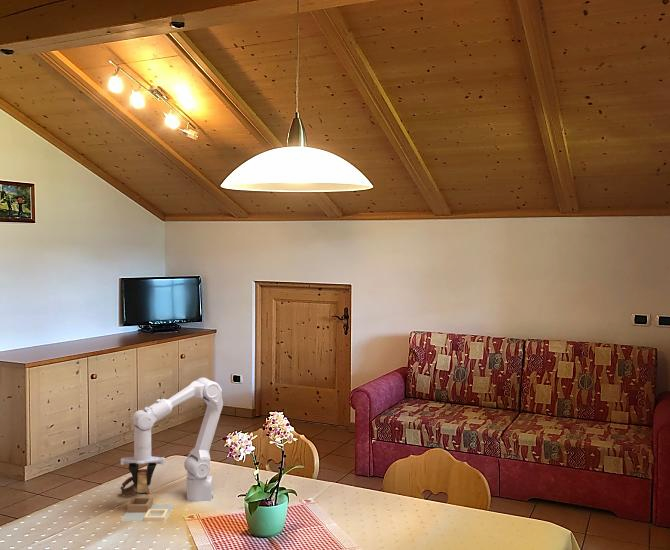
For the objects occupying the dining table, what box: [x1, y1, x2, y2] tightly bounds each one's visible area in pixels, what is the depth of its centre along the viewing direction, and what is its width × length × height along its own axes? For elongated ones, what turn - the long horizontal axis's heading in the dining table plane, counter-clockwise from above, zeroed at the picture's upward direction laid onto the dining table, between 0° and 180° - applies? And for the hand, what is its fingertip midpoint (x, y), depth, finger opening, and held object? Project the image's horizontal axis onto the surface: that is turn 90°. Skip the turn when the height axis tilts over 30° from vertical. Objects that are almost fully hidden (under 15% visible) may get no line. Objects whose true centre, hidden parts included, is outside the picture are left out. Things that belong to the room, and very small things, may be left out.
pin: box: [136, 468, 149, 494], centre depth 231 cm, size 4×4×7 cm
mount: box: [120, 496, 175, 522], centre depth 230 cm, size 15×14×4 cm
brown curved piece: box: [120, 475, 151, 497], centre depth 248 cm, size 12×10×8 cm
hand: (142, 484), depth 232 cm, fingers closed on pin, 4 cm apart
